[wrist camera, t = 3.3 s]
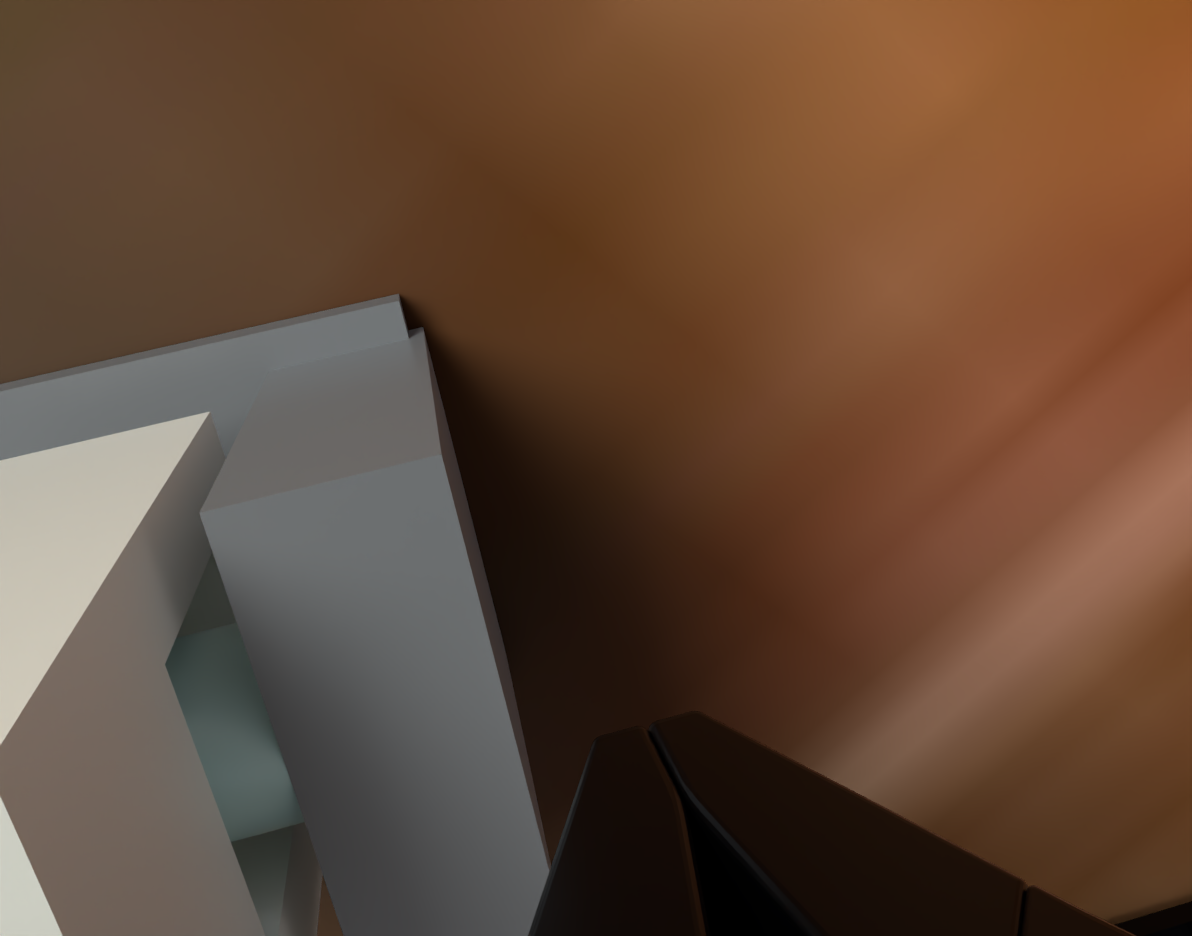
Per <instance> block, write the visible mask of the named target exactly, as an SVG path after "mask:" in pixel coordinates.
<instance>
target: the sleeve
mask: <svg viewBox="0 0 1192 936" xmlns="http://www.w3.org/2000/svg"><path fill="white" fill-rule="evenodd" d="M225 460H226V458H225V455H224V452H223V449H222V446H221V443H220V440H219V437H218V434H217V431H216V428H215V425H214V422H213V419H212V416H211V412H206V413H201V414H197V415H193V416H188V417H184V418H180V419H176V420H171V421H167V422H163V423H159V424H154V425H150V426H146V427H141V428H137V429H133V430H129V431H124V432H120V433H116V434H112V435H107V436H103V437H99V438H94V439H90V440H86V441H82V442H77V443H73V444H69V445H65V446H60V447H56V448H52V449H47V450H43V451H39V452H35V453H30V454H26V455H22V456H18V457H13V458H9V459H5V460H0V936H317V928H318V917H319V907H320V896H321V885H322V875H323V874H322V871H321V868H320V865H319V862H318V859H317V856H316V853H315V850H314V847H313V844H312V842H311V839H310V836H309V833H308V830H307V827H306V824H305V822H303V823H299V824H296V825H292V826H289V827H285V828H281V829H278V830H274V831H270V832H267V833H263V834H259V835H256V836H252V837H248V838H245V839H241V840H237V841H234V842H231V841H230V839H229V836H228V833H227V831H226V828H225V825H224V823H223V820H222V817H221V815H220V812H219V809H218V806H217V804H216V801H215V798H214V796H213V793H212V790H211V788H210V785H209V782H208V779H207V777H206V774H205V771H204V769H203V766H202V763H201V761H200V758H199V755H198V753H197V750H196V747H195V744H194V742H193V739H192V736H191V734H190V731H189V728H188V726H187V723H186V720H185V717H184V715H183V712H182V709H181V707H180V704H179V701H178V699H177V696H176V693H175V691H174V688H173V685H172V682H171V680H170V677H169V674H168V672H167V669H166V666H165V663H166V661H167V658H168V656H169V654H170V651H171V649H172V646H173V644H174V642H175V639H176V638H178V637H182V636H186V635H190V634H194V633H198V632H202V631H206V630H210V629H213V628H217V627H221V626H225V625H229V624H233V623H237V622H236V619H235V616H234V613H233V610H232V608H231V605H230V602H229V599H228V596H227V593H226V590H225V587H224V584H223V581H222V578H221V575H220V572H219V569H218V567H217V564H216V561H215V558H214V555H213V552H212V549H211V546H210V543H209V540H208V537H207V534H206V531H205V529H204V526H203V523H202V520H201V517H200V514H199V512H200V510H201V508H202V506H203V504H204V502H205V500H206V498H207V496H208V494H209V492H210V490H211V488H212V486H213V484H214V482H215V480H216V478H217V476H218V474H219V472H220V470H221V468H222V466H223V464H224V462H225Z"/></svg>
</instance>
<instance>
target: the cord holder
mask: <svg viewBox="0 0 1192 936" xmlns="http://www.w3.org/2000/svg"><path fill="white" fill-rule="evenodd" d="M206 412H211V416H212V419H213V422H214V425H215V428H216V431H217V434H218V437H219V440H220V443H221V446H222V449H223V452H224V455H225V458H226V460H225V462H224V464H223V466H222V468H221V470H220V472H219V474H218V476H217V478H216V480H215V482H214V484H213V486H212V488H211V490H210V492H209V494H208V496H207V498H206V500H205V502H204V504H203V506H202V508H201V510H200V512H199V514H200V517H201V520H202V523H203V526H204V529H205V531H206V534H207V537H208V540H209V543H210V546H211V549H212V552H213V555H214V558H215V561H216V564H217V567H218V569H219V572H220V575H221V578H222V581H223V584H224V587H225V590H226V593H227V596H228V599H229V602H230V605H231V608H232V610H233V613H234V616H235V619H236V622H237V623H233V624H229V625H225V626H221V627H217V628H213V629H210V630H206V631H202V632H198V633H194V634H190V635H186V636H182V637H178V638H176V639H175V642H174V644H173V646H172V649H171V651H170V654H169V656H168V658H167V661H166V663H165V666H166V669H167V672H168V674H169V677H170V680H171V682H172V685H173V688H174V691H175V693H176V696H177V699H178V701H179V704H180V707H181V709H182V712H183V715H184V717H185V720H186V723H187V726H188V728H189V731H190V734H191V736H192V739H193V742H194V744H195V747H196V750H197V753H198V755H199V758H200V761H201V763H202V766H203V769H204V771H205V774H206V777H207V779H208V782H209V785H210V788H211V790H212V793H213V796H214V798H215V801H216V804H217V806H218V809H219V812H220V815H221V817H222V820H223V823H224V825H225V828H226V831H227V833H228V836H229V839H230V841H231V842H234V841H237V840H241V839H245V838H248V837H252V836H256V835H259V834H263V833H267V832H270V831H274V830H278V829H281V828H285V827H289V826H292V825H296V824H299V823H303V822H305V824H306V827H307V830H308V833H309V836H310V839H311V842H312V844H313V847H314V850H315V853H316V856H317V859H318V862H319V865H320V868H321V871H322V874H323V877H324V880H325V882H326V885H327V888H328V891H329V894H330V897H331V900H332V903H333V906H334V909H335V912H336V915H337V918H338V921H339V923H340V926H341V929H342V932H343V935H344V936H528V934H529V931H530V928H531V925H532V922H533V919H534V916H535V913H536V910H537V907H538V904H539V901H540V898H541V895H542V892H543V889H544V886H545V883H546V880H547V877H548V874H549V871H550V868H551V863H550V859H549V854H548V849H547V845H546V840H545V835H544V830H543V826H542V821H541V816H540V811H539V807H538V802H537V797H536V793H535V788H534V783H533V778H532V774H531V769H530V764H529V760H528V755H527V750H526V745H525V741H524V736H523V731H522V727H521V722H520V717H519V712H518V708H517V703H516V698H515V693H514V689H513V684H512V679H511V675H510V670H509V665H508V660H507V656H506V651H505V647H504V643H503V640H502V636H501V632H500V628H499V624H498V620H497V616H496V612H495V608H494V604H493V600H492V596H491V592H490V588H489V584H488V581H487V577H486V573H485V569H484V565H483V561H482V557H481V553H480V549H479V545H478V541H477V537H476V533H475V529H474V526H473V522H472V518H471V514H470V510H469V506H468V502H467V498H466V494H465V490H464V486H463V482H462V478H461V474H460V471H459V467H458V463H457V459H456V455H455V451H454V447H453V443H452V439H451V435H450V431H449V427H448V423H447V419H446V415H445V412H444V408H443V404H442V400H441V396H440V392H439V388H438V384H437V380H436V376H435V372H434V368H433V364H432V360H431V357H430V353H429V349H428V345H427V341H426V337H425V333H424V329H423V327H421V328H416V329H412V330H408V327H407V324H406V320H405V316H404V312H403V308H402V304H401V300H400V297H399V294H396V295H391V296H387V297H382V298H378V299H374V300H369V301H365V302H360V303H356V304H352V305H347V306H343V307H338V308H334V309H330V310H325V311H321V312H316V313H312V314H308V315H303V316H299V317H294V318H290V319H285V320H281V321H277V322H272V323H268V324H263V325H259V326H255V327H250V328H246V329H241V330H237V331H233V332H228V333H224V334H219V335H215V336H211V337H206V338H202V339H197V340H193V341H189V342H184V343H180V344H175V345H171V346H167V347H162V348H158V349H153V350H149V351H145V352H140V353H136V354H131V355H127V356H123V357H118V358H114V359H109V360H105V361H101V362H96V363H92V364H87V365H83V366H79V367H74V368H70V369H65V370H61V371H57V372H52V373H48V374H43V375H39V376H35V377H30V378H26V379H21V380H17V381H13V382H8V383H4V384H0V460H5V459H9V458H13V457H18V456H22V455H26V454H30V453H35V452H39V451H43V450H47V449H52V448H56V447H60V446H65V445H69V444H73V443H77V442H82V441H86V440H90V439H94V438H99V437H103V436H107V435H112V434H116V433H120V432H124V431H129V430H133V429H137V428H141V427H146V426H150V425H154V424H159V423H163V422H167V421H171V420H176V419H180V418H184V417H188V416H193V415H197V414H201V413H206Z"/></svg>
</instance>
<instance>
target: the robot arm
mask: <svg viewBox="0 0 1192 936" xmlns="http://www.w3.org/2000/svg"><path fill="white" fill-rule="evenodd" d="M528 936H1192V901H1191V902H1188V903H1185V904H1181V905H1178V906H1175V907H1172V908H1168V909H1165V910H1162V911H1159V912H1155V913H1152V914H1149V915H1145V916H1142V917H1139V918H1136V919H1132V920H1129V921H1126V922H1123V923H1119V924H1116V925H1113V924H1111V923H1109V922H1107V921H1105V920H1103V919H1101V918H1099V917H1097V916H1095V915H1093V914H1091V913H1088V912H1086V911H1084V910H1082V909H1080V908H1078V907H1077V906H1075V905H1073V904H1071V903H1069V902H1067V901H1065V900H1063V899H1061V898H1059V897H1057V896H1055V895H1053V894H1051V893H1050V892H1048V891H1046V890H1044V889H1042V888H1040V887H1038V886H1035V885H1033V886H1030V887H1027V884H1026V882H1025V881H1024V880H1023V879H1022V878H1020V877H1018V876H1016V875H1014V874H1012V873H1010V872H1008V871H1006V870H1004V869H1002V868H1000V867H998V866H997V865H995V864H993V863H991V862H989V861H987V860H985V859H983V858H981V857H979V856H977V855H975V854H973V853H972V852H970V851H968V850H966V849H964V848H962V847H960V846H958V845H956V844H954V843H952V842H950V841H948V840H946V839H945V838H943V837H941V836H939V835H937V834H935V833H933V832H931V831H929V830H927V829H925V828H923V827H921V826H919V825H918V824H916V823H914V822H912V821H910V820H908V819H906V818H904V817H902V816H900V815H898V814H896V813H894V812H892V811H891V810H889V809H887V808H885V807H883V806H881V805H879V804H877V803H875V802H873V801H871V800H869V799H867V798H866V797H864V796H862V795H860V794H858V793H856V792H854V791H852V790H850V789H848V788H846V787H844V786H842V785H840V784H839V783H837V782H835V781H833V780H831V779H829V778H827V777H825V776H823V775H821V774H819V773H817V772H815V771H813V770H812V769H810V768H808V767H806V766H804V765H802V764H800V763H798V762H796V761H794V760H792V759H790V758H788V757H786V756H785V755H783V754H781V753H779V752H777V751H775V750H773V749H771V748H769V747H767V746H765V745H763V744H761V743H760V742H758V741H756V740H754V739H752V738H750V737H748V736H746V735H744V734H742V733H740V732H738V731H736V730H734V729H733V728H731V727H729V726H727V725H725V724H723V723H721V722H719V721H717V720H715V719H713V718H711V717H709V716H707V715H706V714H704V713H701V712H698V711H691V712H687V713H684V714H680V715H676V716H673V717H669V718H665V719H662V720H658V721H655V722H653V723H652V724H651V725H650V726H649V730H648V731H647V730H646V729H645V728H644V727H641V726H636V727H632V728H628V729H625V730H621V731H617V732H613V733H610V734H606V735H602V736H599V737H597V738H596V739H595V740H594V742H593V744H592V746H591V749H590V752H589V755H588V758H587V761H586V764H585V767H584V770H583V773H582V776H581V779H580V782H579V785H578V788H577V791H576V794H575V797H574V800H573V803H572V806H571V809H570V812H569V815H568V818H567V821H566V824H565V827H564V830H563V832H562V835H561V838H560V841H559V844H558V847H557V850H556V853H555V856H554V859H553V862H552V865H551V868H550V871H549V874H548V877H547V880H546V883H545V886H544V889H543V892H542V895H541V898H540V901H539V904H538V907H537V910H536V913H535V916H534V919H533V922H532V925H531V928H530V931H529V934H528Z"/></svg>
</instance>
